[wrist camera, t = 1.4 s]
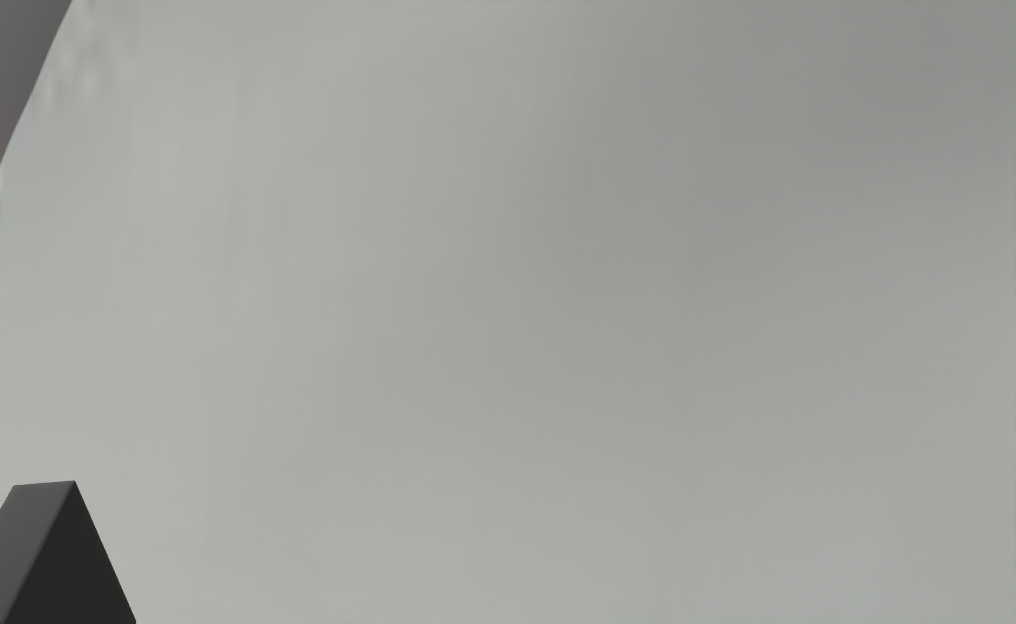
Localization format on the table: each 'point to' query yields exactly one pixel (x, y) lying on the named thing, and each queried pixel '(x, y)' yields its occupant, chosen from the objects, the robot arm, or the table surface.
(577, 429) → the table surface
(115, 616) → the robot arm
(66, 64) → the table surface
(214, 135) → the table surface
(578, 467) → the table surface
